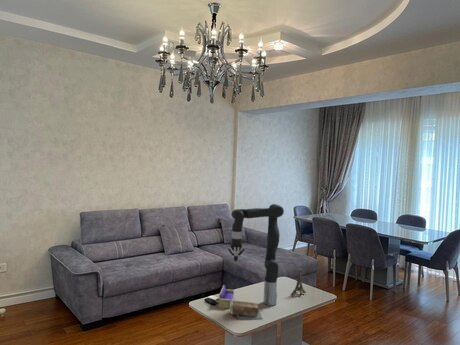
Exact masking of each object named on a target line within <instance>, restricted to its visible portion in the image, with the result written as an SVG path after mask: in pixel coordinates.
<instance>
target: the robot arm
mask: <svg viewBox="0 0 460 345" xmlns="http://www.w3.org/2000/svg"><path fill="white" fill-rule="evenodd" d="M284 214H285V210H284V208H283V206H281V205H279V204H275V203H272V204H271V205H269V207H267V208H264V207H263V208H260V207H259V208H255V207H253V208H246V209H245V208H244V209H243V208H241V209H239V208H238V209H234V210H232V212H231V217H232V218H233V219H234V222H233V223H232V227H231V228H232V230H231V238H230V239H231V243H230V246H229V247H227V250H228V252H229V253H230V255H231V256H233V261H234V262H237V261H238V260H239V256H242V254H243V252H245V250H246V249H245V247H243V245H242V242H243V240H242V239H243V223H244V220H245V219H254V218H255V219H257V218H268V222H267V224H268V225H267V235H266V237H267V238H266V251H265V252H266V253H265V257H264V258H265V260H264V263H263V264H264V268H265V271H266V272H265V276H264V283H263V284H264V285H263V286H264V288H263V301H262V302H263V304H264V305H266V306H276V305H277V297H278V291H277V284H278V283H277V281H278V277H279V264H278V262H277V261H276V254H277V250H278V247H279V244H280V229H279V225H278V218H280V217H282V216H283V215H284Z"/></svg>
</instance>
